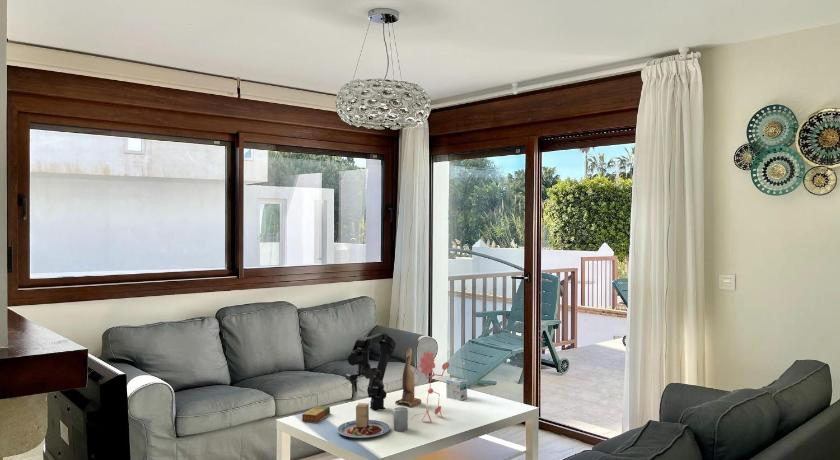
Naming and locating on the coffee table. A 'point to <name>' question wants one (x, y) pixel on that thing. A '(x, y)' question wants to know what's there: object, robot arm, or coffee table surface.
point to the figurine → (427, 366)
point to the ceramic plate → (363, 429)
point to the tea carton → (362, 415)
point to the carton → (316, 414)
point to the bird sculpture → (408, 383)
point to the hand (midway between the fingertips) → (363, 391)
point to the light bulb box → (456, 389)
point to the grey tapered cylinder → (400, 419)
